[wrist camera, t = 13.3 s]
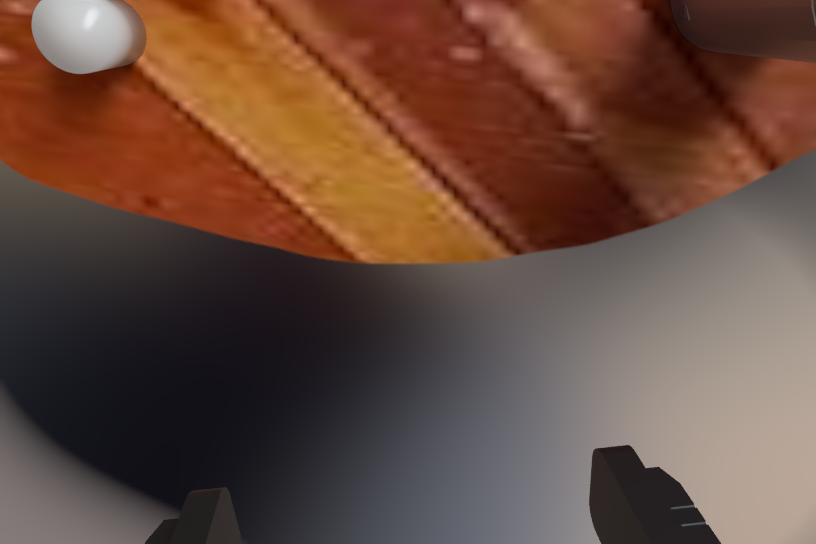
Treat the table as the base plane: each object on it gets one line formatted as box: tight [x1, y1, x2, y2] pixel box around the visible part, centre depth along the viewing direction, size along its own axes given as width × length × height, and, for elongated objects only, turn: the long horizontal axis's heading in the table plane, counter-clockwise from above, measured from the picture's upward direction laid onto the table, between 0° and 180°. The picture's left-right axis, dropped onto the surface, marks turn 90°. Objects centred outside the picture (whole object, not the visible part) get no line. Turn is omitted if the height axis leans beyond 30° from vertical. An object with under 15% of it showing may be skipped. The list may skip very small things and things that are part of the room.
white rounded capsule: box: [32, 0, 146, 74], centre depth 37 cm, size 4×4×6 cm
